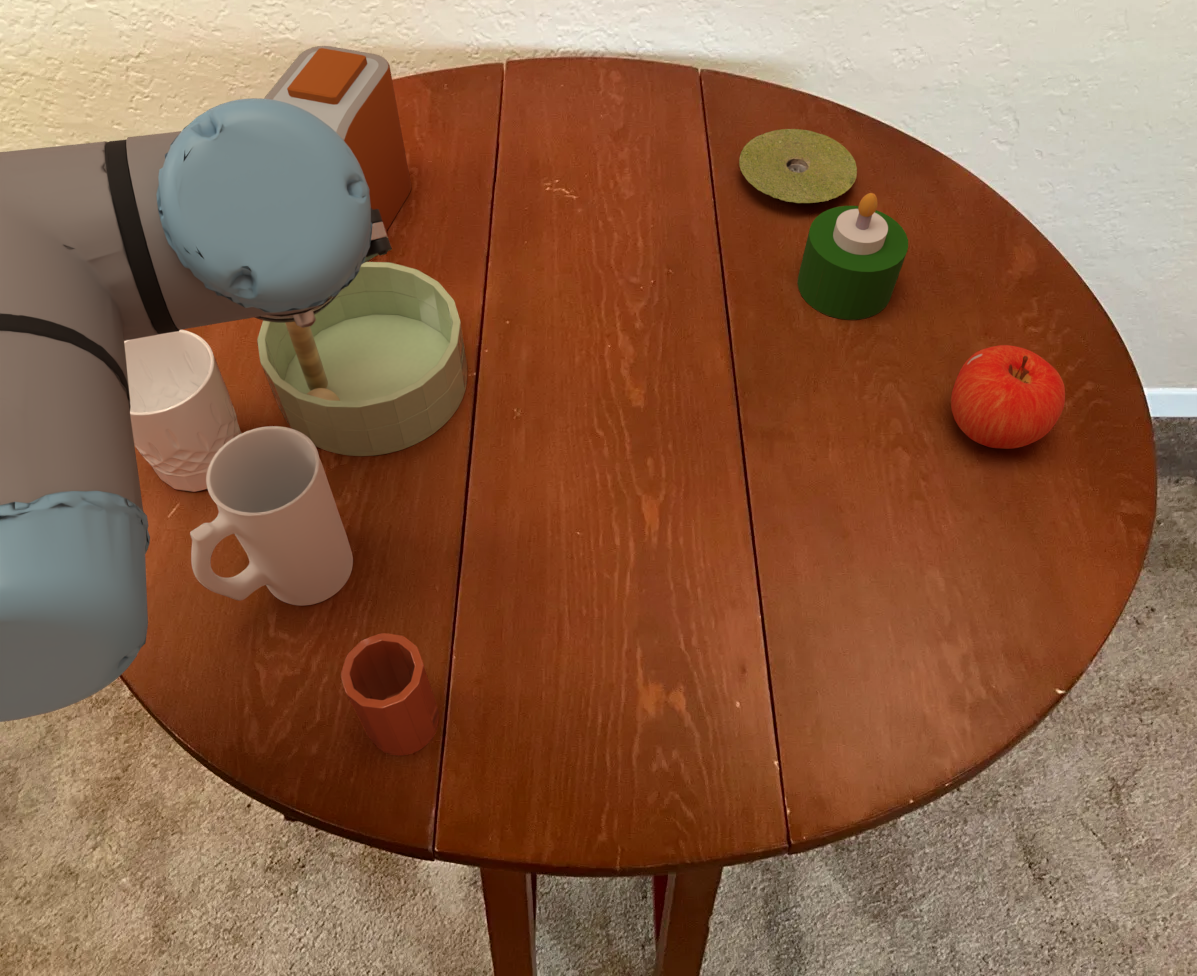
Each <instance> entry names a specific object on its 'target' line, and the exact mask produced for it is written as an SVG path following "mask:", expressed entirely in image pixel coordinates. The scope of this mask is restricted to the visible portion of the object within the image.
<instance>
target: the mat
mask: <svg viewBox="0 0 1197 976" xmlns="http://www.w3.org/2000/svg"><path fill="white" fill-rule="evenodd" d="M738 159H739V160H738V165H739V168H740V169H739V170H740V172H741V173H742V175H743V177H744V179H745V180H746V181H747V182H748V183H749V184H750V185H751V186H752V187H754V188H755V189H756V190H757V191H758V192H761V193H763V194H765V195H768V196H770V197H772V198H773V199H777V200H778V199H779V200H780V201H784V202H787V203H788V202H789V203H795V204H813V203H814V204H815V203H820V202H822V203H823V202H829V200H832V199H836V198H838V197H839V196H842V195H843V194H845V193H846V192H848V191H849V190H850V189H851V188H852V187H853V185H854V184H855V182H856V179H857V176H858V175H857V174H858V167H857V162H856V159H855V158H854V156H853V155H852V153H851V152H850V151H849V150H848V149H847V148H846V147H845V146H844V145H843V144H842V143H840V142H839V141H837V140H836V139H834V138H832V137H830V136H828V135H826V134H822V133H819V132H816V131H813V130H808V129H801V128H785V129H784V128H782V129H775V130H772V131H771V130H770V131H767V132H765V133H762V134H760V135H757V136H755V137H754V138H752V139H750V140H749V141H748V142H747V143H746V144H745V145H744V146H743V148H742V150H741V152H740V154H739V158H738Z"/></svg>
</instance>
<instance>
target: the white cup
mask: <svg viewBox="0 0 1197 976" xmlns="http://www.w3.org/2000/svg"><path fill="white" fill-rule="evenodd" d="M124 344H125V354H126V364H127V375H128V385H129V395H130V405H131V408H130V416H131V423H132V431H133V438H134V446H135V449H136V450H137V451H138V453H139V454H140V455H141V456H142V457H143V458H144V460H145V461H146V462H147V463H148V464H149V465H150V467H151V468H152V470H153V471H154V472H155V473H156V475H157V476H158V478H159V479H160V480H161V481H162V482H164V483H165V484H167V485H168V486H170V487H171V488H172V489H174V490H178V491H184V492H192V493H196V492H200V491H205V490H208V489H207V484H206V477H207V471H208V468H209V465H210V463H211V461H212V459H213V457H214V456H215V454H216V453H217V452H218V451H219V450H220V449H221V447H223V446H224V445H225V444H226V443H227V442H228V441H230V440H231V439H233V438H234V437H236V436H238V435H240V434H242V433H243V432H242V431H241V428H240V425H239V422H238V415H237V413H236V410H235V407H234V404H233V402H232V399H231V395H230V392H229V390H228V388H227V385H226V382H225V380H224V378H223V375H222V373H221V372H222V371H221V370H220V367H219V365H218V362H217V360H216V357H215V355H214V352H213V349H212V347H211V346H210V345H209V343H208V342H207V341H206V340H205V339H204V338H203V337H201V336H200V335H198V334H196V333H194V332H192V331H189V330H187V329H182V330H179V331H177V332H171V333H164V334H159V335H153V336H148V337H143V338H137V339H132V340H126V341H124Z"/></svg>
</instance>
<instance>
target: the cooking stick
mask: <svg viewBox="0 0 1197 976" xmlns="http://www.w3.org/2000/svg"><path fill="white" fill-rule="evenodd" d="M285 324H286V327H287V330H288V333H289V335H290V338H291V341H292V344H293V347H294V349H295V352H296V355H297V358H298V361H299V363H300V366H301V369H302V372H303V375H304V377H305V380H306V383H307V386H308V388H309V389H310V390H313V389H317V388H325V389H326V387H327V386H328V380H327V377H326V374H325V371H324V368H323V365H322V362H321V359H320V356H319V353H318V349H317V346H316V343H315V340H314V337H313V334H312V331H311V328H310V326H309V327H303V328H302V327H300V326H297V325H296V323H295V321H294V322H286V323H285Z"/></svg>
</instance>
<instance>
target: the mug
mask: <svg viewBox="0 0 1197 976" xmlns="http://www.w3.org/2000/svg"><path fill="white" fill-rule="evenodd" d="M241 433H242V434H240V435H238V436H236V437H234V438H233V439H231V440H230V441H228V442H227V443H226V444H225V445H224V446H223V447H221V449H220V450H219V451H218V452H217V453H216V454H215V456H214V457H213V459H212V461H211V463H210V465H209V468H208V471H207V477H206V484H207V489H206V490H207V491H208V495H209V496H210V498H211V500H212V501H213V502H214V504H216V507H217V510H218V513H217V516H216V517H215V518H214V519H213V520H212V521H210V522H203V523H201V524H200V525H198V526H197V527H196V528H194V529H192V530H191V531H190V532H189V535H190V538H191V551H190V552H191V553H190V561H191V569H192V572H193V575H194V577H195V579H196V580H197V581H198V582H199V583H200V585H201V586H203V587H204V588H205V589H207V590H209V591H210V592H213V593H215V594H218V595H221V596H223V597H227V598H230V599H233V600H235V601H238V602H239V601H240V602H241V601H244V600H245V599H247V598H249V597H250V596H251V595H252V594H253V593H254V592H256V591H257V590H258V589H260V588H262V587H264V586H266V588H267V589H268V591H269V592H270V593H271V594H272V595H273V596H274V597H275V598H277V600H280V601H281V602H283V603H285V604H289V605H293V606H300V607H301V606H311V605H315V604H320V603H322V602H324V601H327V600H328V599H330V598H332V597H333V596H335V595H336V594H337V593H338V592H339V591H340V590H342V588H343V587H344V586H345V585H346V584H347V582H348V580H349V579H350V576H351V574H352V571H353V565H354V557H353V552H352V548H351V544H350V542H349V539H348V536H347V532H346V530H345V527H344V524H343V521H342V518H341V516H340V513H339V510H338V506H337V503H336V500H335V498H334V495H333V492H332V488H331V485H330V482H329V480H328V477H327V474H326V471H325V468H324V466H323V465H324V464H323V463H322V461H321V458H320V454H319V451H318V449H317V447H316V446H315V445H314V443H313V442H312V441H311V440H310V439H309V438H308V437H307V436H306V435H304V434H303V433H301V432H299V431H297V430H294V429H292V428H291V427H286V426H279V425H274V426H273V425H269V426H261V427H256V428H253V429H249V430H246V431H244V432H241ZM231 535H234V536H235V537H236V540H237V541H238V542H239V544H240V545H241V547H242V549H243V550H244V552H245V554H246V555H247V558H248V561H249V563H248V565H247V566H246V568H245V569H244V570H242V571H241V572H240V573H238V574H236V575H234V576H230V577H223V576H221V575H218V574H217V573H215V571H214V570H213V568H212V563H211V560H212V555H213V552H214V550H215V548H216V547H217V545H218V544H219V543H220V542H221V541H222V540H224V539H225V538H227V537H229V536H231Z"/></svg>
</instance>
